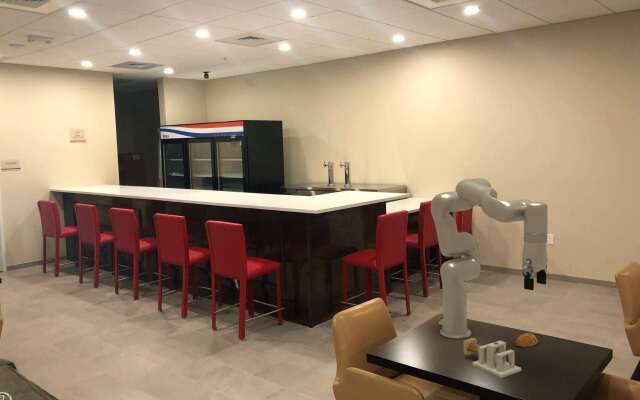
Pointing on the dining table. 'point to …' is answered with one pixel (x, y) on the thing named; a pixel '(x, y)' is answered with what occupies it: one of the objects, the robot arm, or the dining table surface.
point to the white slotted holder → (497, 360)
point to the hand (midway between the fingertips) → (535, 286)
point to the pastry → (526, 340)
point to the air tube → (476, 348)
